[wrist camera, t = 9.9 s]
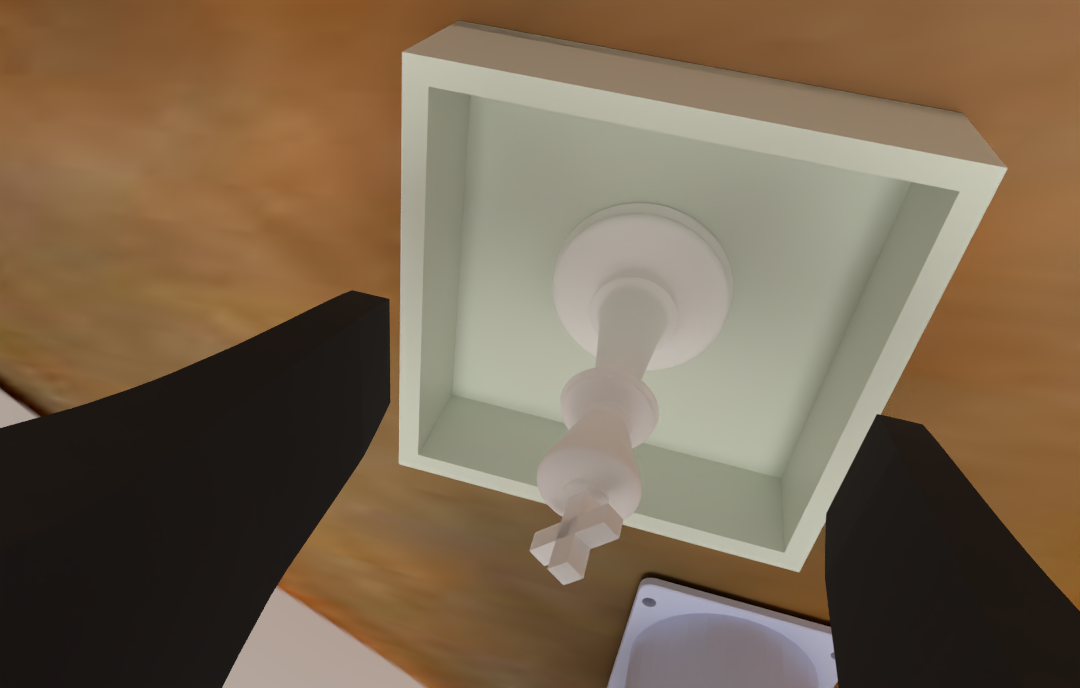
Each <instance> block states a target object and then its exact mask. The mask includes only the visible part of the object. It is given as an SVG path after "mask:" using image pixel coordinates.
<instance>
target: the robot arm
mask: <svg viewBox="0 0 1080 688" xmlns="http://www.w3.org/2000/svg"><path fill="white" fill-rule="evenodd" d="M389 404H390V324H389V299H387V298H383V297H378V296H374V295H370V294H366V293H361V292H357V291H353V290H352V291H349V292H347V293H344V294H342V295H340V296H337V297H335V298H333V299H331V300H329V301H327V302H324V303H322V304H320V305H318V306H316V307H314V308H312V309H310V310H308V311H306V312H304V313H302V314H300V315H298V316H296V317H294V318H292V319H290V320H288V321H286V322H284V323H282V324H280V325H277V326H275V327H273V328H271V329H269V330H267V331H265V332H263V333H261V334H259V335H257V336H255V337H253V338H250V339H248V340H246V341H244V342H242V343H240V344H238V345H236V346H234V347H231V348H229V349H227V350H224V351H222V352H220V353H217V354H215V355H213V356H210V357H208V358H206V359H203V360H201V361H199V362H196V363H194V364H192V365H190V366H187V367H185V368H183V369H180V370H178V371H176V372H173V373H171V374H169V375H166V376H163V377H161V378H158V379H156V380H153V381H151V382H148V383H145V384H142V385H140V386H137V387H134V388H132V389H129V390H126V391H123V392H120V393H117V394H114V395H111V396H108V397H105V398H102V399H99V400H96V401H94V402H91V403H88V404H84V405H81V406H78V407H75V408H72V409H68V410H64V411H61V412H57V413H53V414H50V415H46V416H43V417H39V418H35V419H32V420H28V421H25V422H21V423H18V424H14V425H10V426H7V427H3V428H0V688H222V686H223V684H224V682H225V681H226V679H227V677H228V675H229V673H230V671H231V669H232V667H233V665H234V663H235V661H236V659H237V657H238V655H239V653H240V651H241V649H242V648H243V646H244V644H245V642H246V640H247V639H248V636H249V635H250V633H251V631H252V629H253V627H254V625H255V624H256V622H257V620H258V618H259V616H260V614H261V612H262V611H263V609H264V607H265V605H266V603H267V601H268V600H269V598H270V596H271V594H272V593H273V591H274V589H275V588H276V586H277V585H278V583H279V582H280V580H281V578H282V577H283V575H284V573H285V572H286V570H287V569H288V567H289V566H290V564H291V563H292V561H293V560H294V558H295V557H296V555H297V554H298V553H299V551H300V550H301V548H302V547H303V545H304V544H305V542H306V541H307V539H308V538H309V536H310V535H311V533H312V532H313V531H314V529H315V528H316V526H317V525H318V523H319V522H320V520H321V519H322V517H323V516H324V514H325V513H326V512H327V510H328V509H329V507H330V506H331V504H332V503H333V501H334V500H335V498H336V497H337V495H338V494H339V492H340V491H341V489H342V488H343V486H344V485H345V483H346V482H347V480H348V479H349V477H350V476H351V474H352V473H353V472H354V470H355V469H356V467H357V465H358V464H359V462H360V461H361V459H362V458H363V456H364V455H365V453H366V451H367V449H368V447H369V445H370V443H371V441H372V439H373V437H374V435H375V433H376V431H377V429H378V427H379V425H380V423H381V421H382V418H383V416H384V414H385V412H386V410H387V408H388V406H389ZM825 581H826V590H827V599H828V607H829V615H830V624H831V627H829V626H825V625H822V624H818V623H815V622H811V621H807V620H804V619H800V618H797V617H793V616H789V615H786V614H782V613H779V612H775V611H771V610H768V609H764V608H761V607H757V606H754V605H750V604H746V603H743V602H739V601H736V600H732V599H728V598H725V597H721V596H718V595H714V594H710V593H707V592H703V591H700V590H696V589H692V588H689V587H685V586H682V585H678V584H675V583H671V582H667V581H664V580H660V579H657V578H645V579H643V580H642V581H641V582H640V584H639V587H638V590H637V594H636V597H635V600H634V603H633V606H632V609H631V612H630V616H629V619H628V622H627V625H626V628H625V631H624V634H623V638H622V641H621V644H620V647H619V650H618V653H617V656H616V660H615V663H614V666H613V669H612V672H611V675H610V678H609V682H608V685H607V688H834V686H835V684H836V683H837V681H838V686H839V688H1080V611H1079V610H1078V609H1077V608H1076V607H1075V606H1074V605H1073V603H1072V602H1071V601H1070V600H1069V599H1068V598H1067V597H1066V596H1065V595H1064V594H1063V593H1062V591H1061V590H1060V589H1059V588H1058V587H1057V586H1056V585H1055V584H1054V583H1053V582H1052V580H1051V579H1050V578H1049V577H1048V576H1047V575H1046V574H1045V573H1044V571H1043V570H1042V569H1041V568H1040V567H1039V566H1038V564H1037V563H1036V562H1035V561H1034V560H1033V559H1032V558H1031V556H1030V555H1029V554H1028V553H1027V552H1026V551H1025V549H1024V548H1023V547H1022V546H1021V545H1020V543H1019V542H1018V541H1017V540H1016V539H1015V537H1014V536H1013V535H1012V534H1011V533H1010V531H1009V530H1008V529H1007V528H1006V527H1005V525H1004V524H1003V523H1002V522H1001V521H1000V519H999V518H998V517H997V516H996V514H995V513H994V512H993V511H992V509H991V508H990V507H989V506H988V504H987V503H986V502H985V501H984V499H983V498H982V497H981V496H980V494H979V493H978V492H977V491H976V489H975V488H974V487H973V486H972V484H971V483H970V482H969V481H968V479H967V478H966V477H965V476H964V474H963V473H962V472H961V471H960V469H959V468H958V467H957V465H956V464H955V463H954V462H953V460H952V459H951V458H950V457H949V455H948V454H947V453H946V452H945V450H944V449H943V448H942V447H941V446H940V444H939V443H938V442H937V441H936V439H935V438H934V437H933V436H932V435H931V434H930V432H929V431H928V430H927V429H926V428H925V427H924V426H923V425H922V424H918V423H913V422H909V421H905V420H901V419H896V418H892V417H888V416H884V415H879V414H877V415H876V417H875V419H874V421H873V423H872V425H871V427H870V429H869V430H868V432H867V434H866V436H865V438H864V440H863V442H862V444H861V446H860V448H859V450H858V452H857V454H856V456H855V458H854V460H853V462H852V464H851V466H850V468H849V470H848V472H847V474H846V476H845V478H844V480H843V482H842V483H841V485H840V487H839V489H838V491H837V493H836V495H835V497H834V499H833V501H832V503H831V505H830V507H829V509H828V511H827V513H826V537H825Z"/></svg>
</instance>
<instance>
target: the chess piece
mask: <svg viewBox="0 0 1080 688" xmlns="http://www.w3.org/2000/svg"><path fill="white" fill-rule="evenodd" d="M552 292H553V301H554V305H555V309H556V312H557V314H558V317H559V319H560V321H561V323H562V325H563V326H564V328H565V329H566V331H567V332H568V334H569V335H570V336H571V337H572V338H573V339H574V341H575V342H576V343H577V344H579V345H580V346H581V347H582V348H583V349H584V350H586V351H587V352H588V353H590V354H592V355H593V356H595V357H596V365H595V368H592V369H588V370H585V371H582V372H580V373H578V374H576V375H575V376H574V377H572V378H571V379H570V380H569V381H568V382H567V383H566V385H565V387H564V388H563V390H562V393H561V398H560V407H561V415H562V419H563V421H564V423H565V425H566V427H567V428H568V430H569V431H568V433H567V434H566V435H565V436H564V437H563V438H562V439H561V440H560V441H558V442H557V443H556V444H555V445H554V446H553V447H552V448H551V449H550V450H549V451H548V452H547V454H546V455H545V456H544V457H543V459H542V461H541V462H540V464H539V467H538V470H537V486H538V489H539V492H540V494H541V496H542V498H543V499H544V501H545V502H546V503H547V505H548V506H549V507H550V508H551V509H552V510H554V511H555V512H556V513H557V514H559V515H560V516H562V521H561V522H560V523H557V524H555V525H552V526H550V527H547V528H545V529H542V530H540V531H538V532H535V534H534V537H533V540H532V544H531V547H530V550H529V551H530V552H531V553H532V554H533V555H534V556H535V557H536V558H537V559H538V560H539V561H540V562H541V563H542V564H543V565H544V566H546V565H548V570H549V571H550V572H551V573H552V574H553V575H554V576H555V577H556V578H557V579H558V580H559V581H560V582H561V583H562V584H563V585H566V584H569V583H572V582H575V581H577V580H580V579H583V578H584V574H585V570H586V565H587V561H588V557H589V553H590V549H592V548H595V547H598V546H600V545H603V544H606V543H609V542H611V541H614V540H617V539H619V538H620V533H621V528H622V523H623V520H625V519H626V518H628V517H629V516H630V515H631V514H633V512H634V511H635V510H636V509H637V507H638V505H639V503H640V500H641V495H642V484H641V478H640V473H639V469H638V466H637V463H636V461H635V459H634V455H633V448H634V447H636V446H638V445H640V444H641V443H643V442H644V441H645V440H646V439H647V438H648V437H649V435H650V434H651V433H652V431H653V430H654V428H655V427H656V424H657V421H658V417H659V408H658V403H657V400H656V398H655V396H654V394H653V393H652V391H651V390H650V388H649V387H648V386H647V385H646V384H645V383H644V382H643V381H641V380H642V378H643V375H644V373H645V371H646V370H660V369H666V368H670V367H674V366H677V365H680V364H682V363H684V362H687V361H689V360H690V359H692V358H694V357H696V356H697V355H699V354H700V353H701V352H703V351H704V350H705V349H706V348H707V347H708V346H709V345H710V344H711V343H712V342H713V341H714V340H715V338H716V337H717V336H718V334H719V333H720V331H721V329H722V327H723V325H724V323H725V321H726V318H727V315H728V312H729V310H730V307H731V303H732V298H733V275H732V270H731V266H730V263H729V260H728V258H727V255H726V253H725V251H724V250H723V248H722V246H721V245H720V243H719V242H718V241H717V239H716V238H715V237H714V236H713V235H712V233H711V232H710V231H709V230H708V229H706V228H705V227H704V226H703V225H702V224H700V223H699V222H698V221H696V220H695V219H693V218H692V217H690V216H688V215H686V214H684V213H682V212H680V211H678V210H675V209H672V208H669V207H666V206H662V205H657V204H650V203H628V204H621V205H617V206H613V207H609V208H606V209H604V210H601V211H599V212H597V213H595V214H593V215H591V216H590V217H588V218H587V219H585V220H584V221H583V222H581V223H580V224H579V225H578V226H577V227H576V228H575V229H574V230H573V231H572V232H571V233H570V234H569V236H568V237H567V238H566V240H565V241H564V243H563V245H562V247H561V249H560V251H559V254H558V256H557V260H556V264H555V269H554V275H553V283H552Z"/></svg>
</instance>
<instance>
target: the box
mask: <svg viewBox="0 0 1080 688" xmlns="http://www.w3.org/2000/svg"><path fill="white" fill-rule="evenodd" d="M1007 169H1008V168H1007V167H1006V165H1005V164H1004V163H1003V162H1002V160H1001V159H1000V158H999V157H998V156H997V154H996V153H995V152H994V151H993V149H992V148H991V147H990V146H989V144H988V143H987V142H986V141H985V140H984V138H983V137H982V136H981V135H980V133H979V132H978V131H977V130H976V128H975V127H974V126H973V125H972V124H971V122H970V121H969V120H968V119H967V117H966V116H965V115H964V114H963V113H959V112H954V111H949V110H943V109H938V108H932V107H927V106H921V105H916V104H911V103H905V102H900V101H894V100H889V99H883V98H878V97H873V96H867V95H862V94H856V93H851V92H845V91H840V90H835V89H829V88H824V87H818V86H813V85H807V84H802V83H797V82H791V81H786V80H780V79H775V78H769V77H764V76H759V75H753V74H748V73H742V72H737V71H731V70H726V69H721V68H715V67H710V66H704V65H699V64H693V63H688V62H683V61H677V60H672V59H666V58H661V57H655V56H650V55H645V54H639V53H634V52H628V51H623V50H617V49H612V48H606V47H601V46H596V45H590V44H585V43H579V42H574V41H568V40H563V39H558V38H552V37H547V36H541V35H536V34H530V33H525V32H520V31H514V30H509V29H503V28H498V27H492V26H487V25H482V24H476V23H471V22H465V21H460V20H459V21H457V22H455V23H453V24H452V25H450V26H448V27H446V28H444V29H443V30H441V31H439V32H437V33H435V34H433V35H432V36H430V37H428V38H426V39H424V40H423V41H421V42H419V43H417V44H415V45H414V46H412V47H410V48H408V49H406V50H404V51H403V52H402V133H401V262H400V391H399V464H400V465H404V466H408V467H412V468H415V469H419V470H423V471H426V472H430V473H434V474H437V475H441V476H445V477H448V478H452V479H456V480H460V481H463V482H467V483H471V484H474V485H478V486H482V487H485V488H489V489H493V490H497V491H500V492H504V493H508V494H511V495H515V496H519V497H522V498H526V499H530V500H534V501H537V502H541V503H545V504H547V503H546V502H545V501H544V499H543V498H542V496H541V494H540V492H539V489H538V486H537V470H538V467H539V464H540V462H541V461H542V459H543V457H544V456H545V455H546V454H547V452H548V451H549V450H550V449H551V448H552V447H553V446H554V445H555V444H556V443H557V442H558V441H560V440H561V439H562V438H563V437H564V436H565V435H566V434H567V433H568V431H569V430H568V428H567V427H566V425H565V423H564V421H563V419H562V415H561V407H560V398H561V393H562V390H563V388H564V387H565V385H566V383H567V382H568V381H569V380H570V379H571V378H572V377H574V376H575V375H576V374H578V373H580V372H582V371H585V370H588V369H592V368H595V365H596V357H595V356H593V355H592V354H590V353H588V352H587V351H586V350H584V349H583V348H582V347H581V346H580V345H579V344H577V343H576V342H575V341H574V339H573V338H572V337H571V336H570V335H569V334H568V332H567V331H566V329H565V328H564V326H563V325H562V323H561V321H560V319H559V317H558V314H557V312H556V309H555V305H554V301H553V292H552V283H553V275H554V269H555V264H556V260H557V256H558V254H559V251H560V249H561V247H562V245H563V243H564V241H565V240H566V238H567V237H568V236H569V234H570V233H571V232H572V231H573V230H574V229H575V228H576V227H577V226H578V225H579V224H580V223H581V222H583V221H584V220H585V219H587V218H588V217H590V216H591V215H593V214H595V213H597V212H599V211H601V210H604V209H606V208H609V207H613V206H617V205H621V204H628V203H650V204H657V205H662V206H666V207H669V208H672V209H675V210H678V211H680V212H682V213H684V214H686V215H688V216H690V217H692V218H693V219H695V220H696V221H698V222H699V223H700V224H702V225H703V226H704V227H705V228H706V229H708V230H709V231H710V232H711V233H712V235H713V236H714V237H715V238H716V239H717V241H718V242H719V243H720V245H721V246H722V248H723V250H724V251H725V253H726V255H727V258H728V260H729V263H730V266H731V270H732V275H733V298H732V303H731V307H730V310H729V312H728V315H727V318H726V321H725V323H724V325H723V327H722V329H721V331H720V333H719V334H718V336H717V337H716V338H715V340H714V341H713V342H712V343H711V344H710V345H709V346H708V347H707V348H706V349H705V350H704V351H703V352H701V353H700V354H699V355H697V356H696V357H694V358H692V359H690V360H689V361H687V362H684V363H682V364H680V365H677V366H674V367H670V368H666V369H660V370H646V371H645V373H644V375H643V378H642V380H641V381H643V382H644V383H645V384H646V385H647V386H648V387H649V388H650V390H651V391H652V393H653V394H654V396H655V398H656V400H657V403H658V408H659V417H658V421H657V424H656V427H655V428H654V430H653V431H652V433H651V434H650V435H649V437H648V438H647V439H646V440H645V441H644V442H643V443H641V444H640V445H638V446H636V447H634V448H633V455H634V459H635V461H636V463H637V466H638V469H639V473H640V478H641V484H642V495H641V500H640V503H639V505H638V507H637V509H636V510H635V511H634V512H633V514H631V515H630V516H629V517H628V518H626V519H625V520H623V523H622V525H626V526H630V527H633V528H637V529H641V530H644V531H648V532H652V533H655V534H659V535H663V536H667V537H670V538H674V539H678V540H681V541H685V542H689V543H692V544H696V545H700V546H704V547H707V548H711V549H715V550H718V551H722V552H726V553H729V554H733V555H737V556H741V557H744V558H748V559H752V560H755V561H759V562H763V563H766V564H770V565H774V566H777V567H781V568H785V569H789V570H792V571H796V572H800V570H801V568H802V566H803V564H804V562H805V560H806V558H807V556H808V554H809V552H810V550H811V549H812V547H813V545H814V543H815V541H816V539H817V537H818V535H819V533H820V531H821V529H822V527H823V525H824V523H825V521H826V513H827V511H828V509H829V507H830V505H831V503H832V501H833V499H834V497H835V495H836V493H837V491H838V489H839V487H840V485H841V483H842V482H843V480H844V478H845V476H846V474H847V472H848V470H849V468H850V466H851V464H852V462H853V460H854V458H855V456H856V454H857V452H858V450H859V448H860V446H861V444H862V442H863V440H864V438H865V436H866V434H867V432H868V430H869V429H870V427H871V425H872V423H873V421H874V419H875V417H876V415H877V414H879V415H881V413H882V411H883V409H884V407H885V405H886V403H887V401H888V399H889V397H890V395H891V393H892V392H893V390H894V388H895V386H896V384H897V382H898V380H899V378H900V376H901V374H902V372H903V370H904V368H905V366H906V364H907V362H908V361H909V359H910V357H911V355H912V353H913V351H914V349H915V347H916V345H917V343H918V341H919V339H920V337H921V335H922V333H923V331H924V330H925V328H926V326H927V324H928V322H929V320H930V318H931V316H932V314H933V312H934V310H935V308H936V306H937V304H938V302H939V300H940V298H941V297H942V295H943V293H944V291H945V289H946V287H947V285H948V283H949V281H950V279H951V277H952V275H953V273H954V271H955V269H956V267H957V266H958V264H959V262H960V260H961V258H962V256H963V254H964V252H965V250H966V248H967V246H968V244H969V242H970V240H971V238H972V236H973V235H974V233H975V231H976V229H977V227H978V225H979V223H980V221H981V219H982V217H983V215H984V213H985V211H986V209H987V207H988V205H989V204H990V202H991V200H992V198H993V196H994V194H995V192H996V190H997V188H998V186H999V184H1000V182H1001V180H1002V178H1003V176H1004V174H1005V173H1006V171H1007Z"/></svg>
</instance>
